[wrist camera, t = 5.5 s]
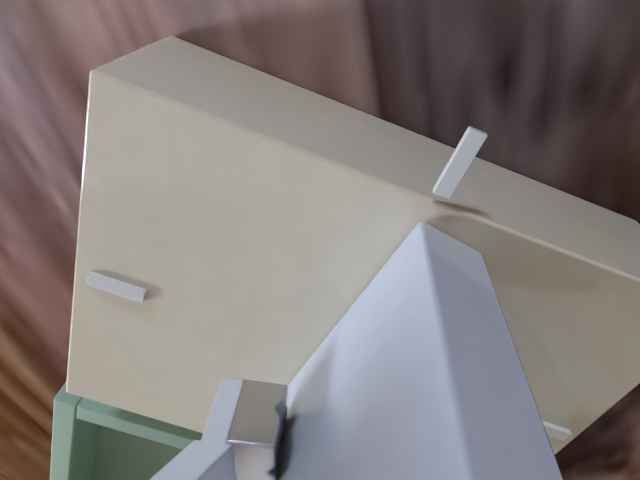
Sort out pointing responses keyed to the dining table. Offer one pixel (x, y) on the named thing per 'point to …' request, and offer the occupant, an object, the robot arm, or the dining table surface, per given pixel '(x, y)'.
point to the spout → (418, 381)
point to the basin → (110, 441)
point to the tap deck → (311, 241)
